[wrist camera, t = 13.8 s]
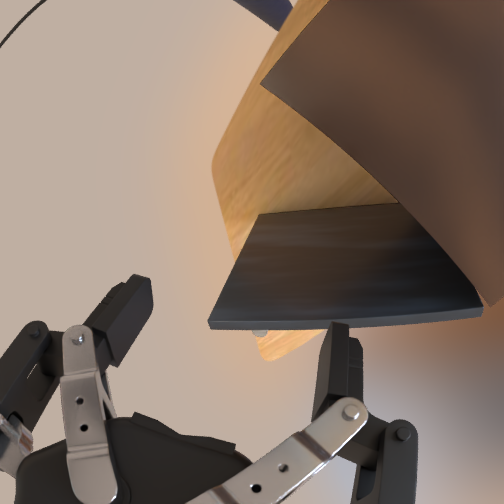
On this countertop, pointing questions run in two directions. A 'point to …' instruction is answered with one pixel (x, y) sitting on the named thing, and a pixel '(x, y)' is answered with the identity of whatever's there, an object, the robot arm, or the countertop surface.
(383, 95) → the cupboard
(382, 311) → the door
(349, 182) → the countertop surface
